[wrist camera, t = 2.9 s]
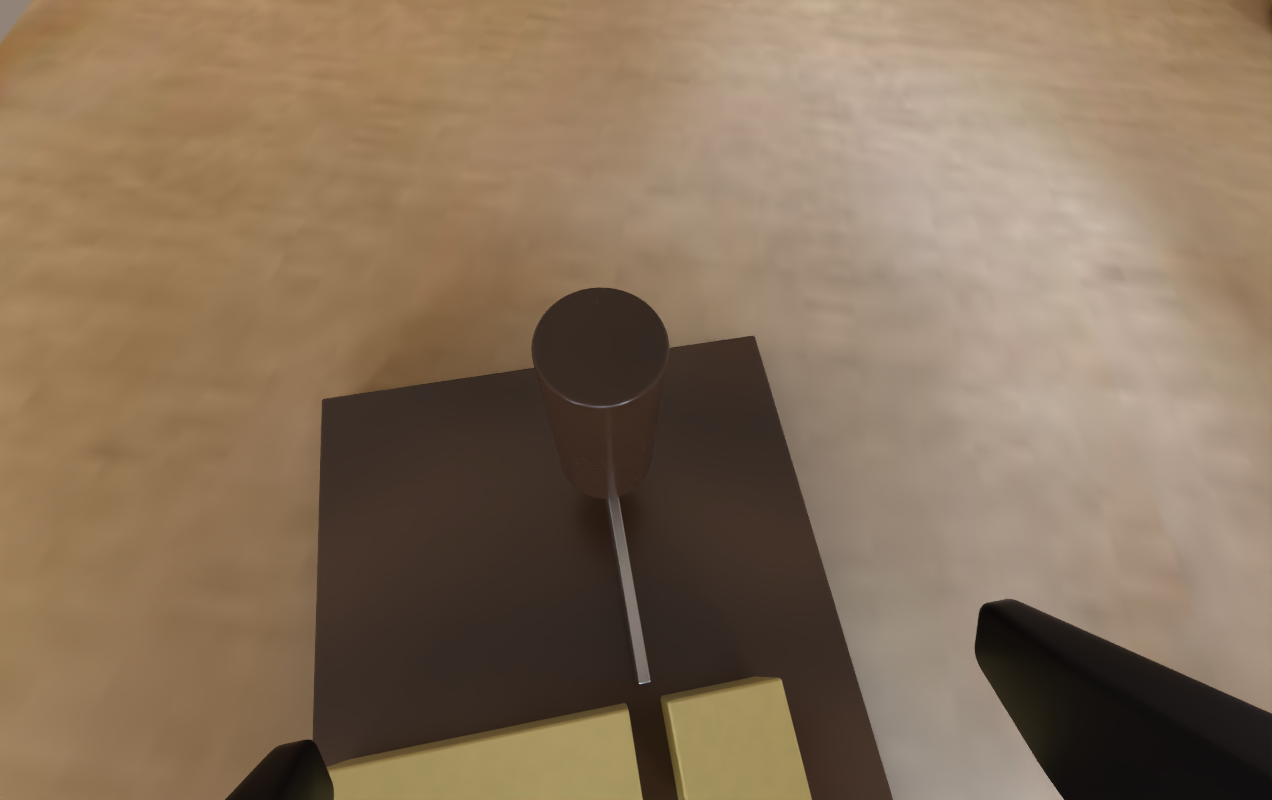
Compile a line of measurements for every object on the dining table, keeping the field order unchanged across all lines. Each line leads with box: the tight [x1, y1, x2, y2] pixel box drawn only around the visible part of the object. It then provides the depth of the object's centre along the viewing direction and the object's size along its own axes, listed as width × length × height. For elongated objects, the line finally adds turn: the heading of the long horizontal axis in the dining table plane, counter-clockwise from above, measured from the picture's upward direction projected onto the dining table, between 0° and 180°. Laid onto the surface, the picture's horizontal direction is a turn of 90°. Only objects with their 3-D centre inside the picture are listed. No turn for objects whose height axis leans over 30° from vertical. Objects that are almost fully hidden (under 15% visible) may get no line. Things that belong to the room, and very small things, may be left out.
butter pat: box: [661, 677, 812, 800], centre depth 16 cm, size 4×3×3 cm
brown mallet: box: [532, 288, 669, 684], centre depth 15 cm, size 7×3×10 cm, turn 10°
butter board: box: [313, 336, 893, 800], centre depth 19 cm, size 20×16×2 cm
